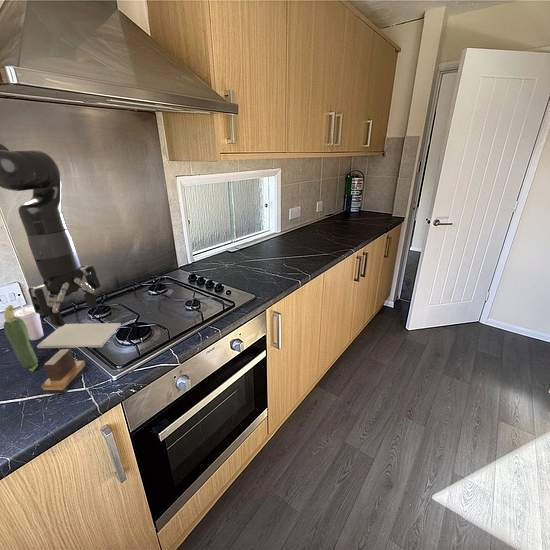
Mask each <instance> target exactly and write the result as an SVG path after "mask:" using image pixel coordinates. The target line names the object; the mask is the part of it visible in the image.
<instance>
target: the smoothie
mask: <svg viewBox="0 0 550 550" xmlns="http://www.w3.org/2000/svg"><path fill="white" fill-rule="evenodd" d="M17 301H18V304H19V306H20V309H18V310H16V311H15V312H13V313H14V316H15V317H18V318H20V319H22V320H23V321H24V322H25V324H26V327H27V330H28V334H29V341H36V340H39V339H41V338H43V337H44V335H45V334H44V330H43V326H42V321H41V316H40V314H38V313H36V312H35V310H34V306H33V305H32V306H26V307H24V305H23V302H22V300H21V298H17Z"/></svg>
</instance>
